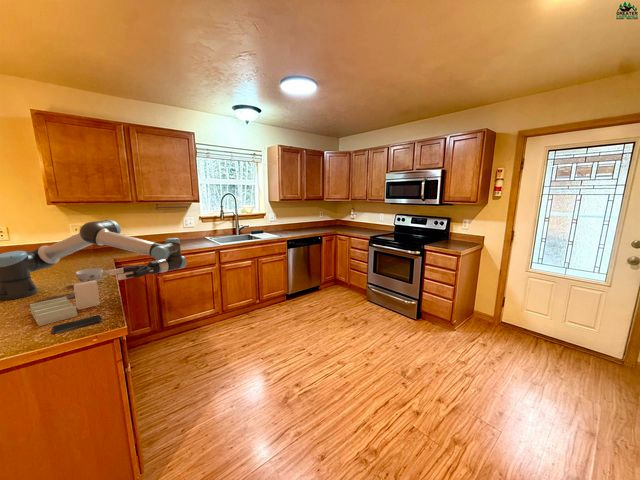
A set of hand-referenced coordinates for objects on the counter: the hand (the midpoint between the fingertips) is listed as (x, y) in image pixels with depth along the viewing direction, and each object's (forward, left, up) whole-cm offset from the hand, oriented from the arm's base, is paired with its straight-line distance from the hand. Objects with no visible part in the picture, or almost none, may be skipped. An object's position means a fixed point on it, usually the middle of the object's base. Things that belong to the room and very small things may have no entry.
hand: (113, 275), depth 134 cm
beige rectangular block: (0, -11, -13) cm, 17 cm away
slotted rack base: (0, -23, -13) cm, 27 cm away
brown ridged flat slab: (-24, -18, -14) cm, 33 cm away
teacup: (-44, +1, -14) cm, 46 cm away
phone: (+21, -19, -14) cm, 31 cm away
